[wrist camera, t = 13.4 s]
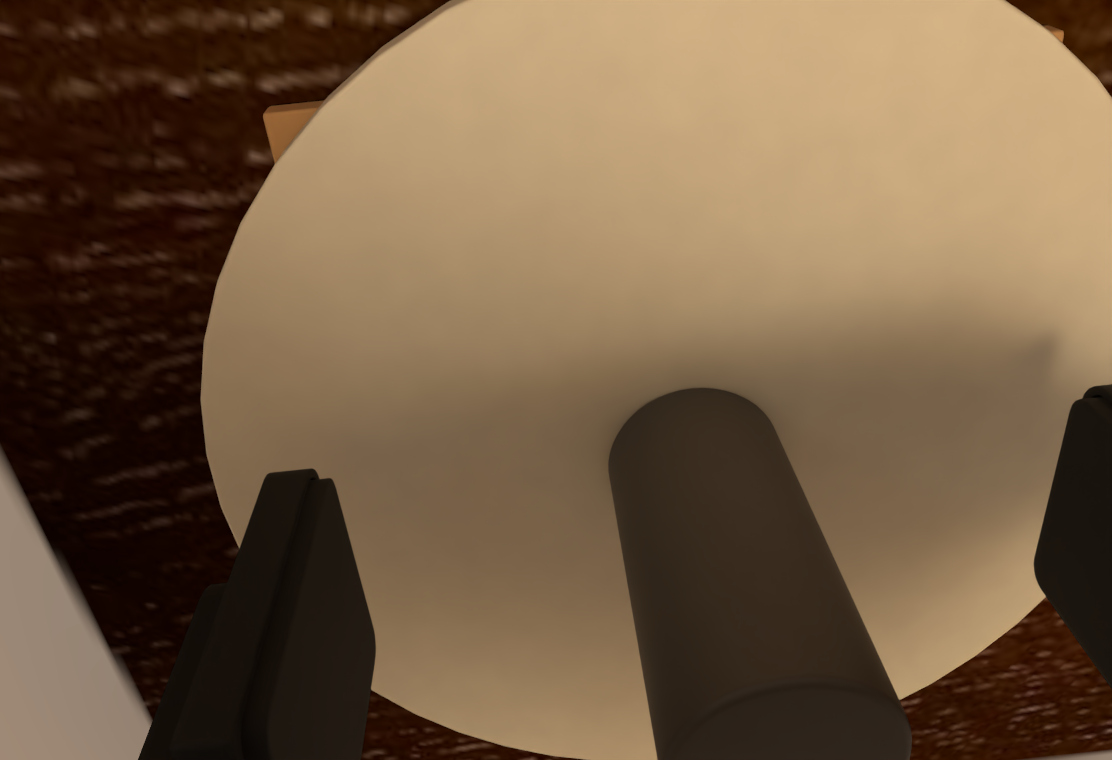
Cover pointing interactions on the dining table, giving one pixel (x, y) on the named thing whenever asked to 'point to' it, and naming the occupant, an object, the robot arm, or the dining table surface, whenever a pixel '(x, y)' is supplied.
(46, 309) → the dining table surface
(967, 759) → the dining table surface
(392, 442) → the lid
